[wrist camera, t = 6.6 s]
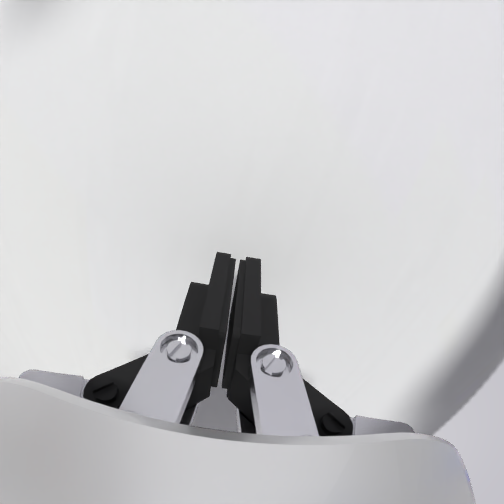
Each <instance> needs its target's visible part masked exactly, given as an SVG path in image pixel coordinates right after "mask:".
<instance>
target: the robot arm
mask: <svg viewBox="0 0 504 504" xmlns="http://www.w3.org/2000/svg"><path fill="white" fill-rule="evenodd" d="M230 257H231V254H226V253H220V252H217V254H216V258H215V262H214V266H213V270H212V274H211V278H210V283H209V285H206V284H200V283H194V282H191V284H190V286H189V290H188V293H187V296H186V299H185V302H184V306H183V309H182V312H181V315H180V319H179V322H178V325H177V329H176V330H173V331H169V332H166V333H164V334H163V335H161V336H160V337H159V338H158V339H157V341H156V342H155V344H154V346H153V348H152V349H151V351H150V353H149V354H147V355H145V356H143V357H141V358H138V359H136V360H134V361H131V362H129V363H126V364H124V365H122V366H119V367H117V368H115V369H112V370H110V371H107V372H105V373H102V374H100V375H97V376H95V377H94V378H92V379H90V380H87V379H84V378H83V376H76V375H68V374H60V373H53V372H47V371H41V370H28V371H25V372H23V373H22V374H21V375H20V376H19V378H13V377H0V504H476V503H475V499H474V494H473V490H472V486H471V483H470V479H469V476H468V473H467V470H466V468H465V465H464V462H463V460H462V458H461V456H460V454H459V452H458V450H457V449H456V448H455V447H454V446H453V445H452V444H451V443H449V442H448V441H446V440H444V439H441V438H439V437H435V436H431V435H427V434H421V433H415V432H414V431H413V429H412V428H411V427H410V426H409V425H407V424H405V423H402V422H395V421H387V420H381V419H374V418H368V417H362V416H357V415H356V416H355V417H354V418H352V417H349V416H348V415H347V414H346V413H345V412H344V411H343V410H342V409H341V408H339V407H338V406H337V405H335V404H334V403H333V402H332V401H330V400H329V399H328V398H326V397H325V396H324V395H323V394H321V393H320V392H319V391H318V390H316V389H315V388H314V387H313V386H311V385H310V384H309V383H308V382H306V381H305V380H304V379H303V378H302V375H301V372H300V368H299V365H298V361H297V359H296V357H295V356H294V355H293V353H292V352H291V351H289V350H288V349H286V348H285V347H282V346H279V330H278V314H277V299H276V296H275V295H269V294H262V293H261V259H256V258H250V257H246V261H245V260H240V264H239V269H238V275H237V280H236V286H235V291H234V296H233V302H232V307H231V313H230V320H229V328H228V337H227V345H226V354H225V363H224V372H223V381H222V388H226V389H227V397H228V399H229V400H230V401H231V402H232V403H233V404H234V405H235V406H236V418H237V427H238V432H230V431H222V430H214V429H207V428H201V427H195V426H191V425H192V422H193V419H194V416H195V414H196V411H197V408H198V403H199V402H200V401H202V400H204V399H206V398H207V397H209V396H210V389H211V386H212V387H217V384H218V378H219V373H220V367H221V361H222V355H223V350H224V344H225V338H226V332H227V325H228V317H229V309H230V301H231V293H232V285H233V278H234V270H235V262H236V259H233V258H230Z"/></svg>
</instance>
